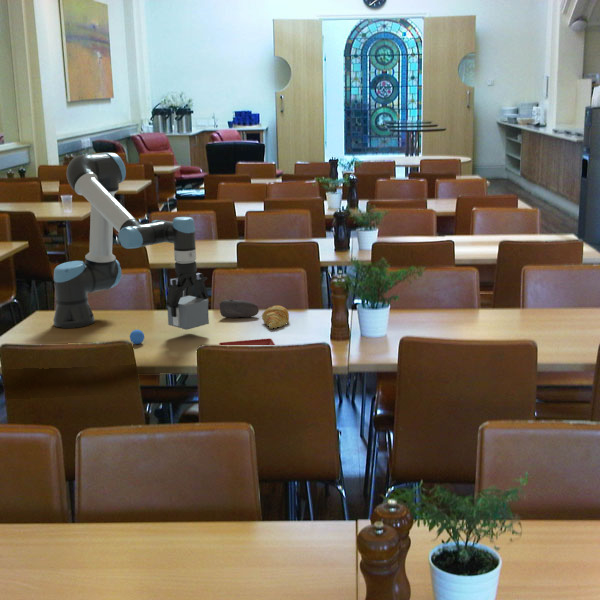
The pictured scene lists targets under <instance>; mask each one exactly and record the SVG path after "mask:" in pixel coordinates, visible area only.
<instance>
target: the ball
mask: <svg viewBox="0 0 600 600" xmlns="http://www.w3.org/2000/svg"><path fill="white" fill-rule="evenodd" d="M129 339H130V342H131V343H132V344H135V345H140V344H141V343H143V342H144V340H145V334H144V332H143V331H142V330H140V329H134V330H132V331H131V332H130V334H129Z"/></svg>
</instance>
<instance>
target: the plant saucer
mask: <svg viewBox="0 0 600 600" xmlns="http://www.w3.org/2000/svg"><path fill="white" fill-rule="evenodd" d="M218 345H219V346H220V345H276V343H275V342H274V341H273V339H272V338H260V339H258V338H257V339H248V340H247V339H245V340H235V341H223V342H219V343H218Z"/></svg>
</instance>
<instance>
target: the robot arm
mask: <svg viewBox="0 0 600 600" xmlns="http://www.w3.org/2000/svg"><path fill="white" fill-rule="evenodd" d="M126 169H127V168H126V165H125V162H124V161H123V160H122V158H121V156H120V155H118V154H117V153H115V152H98V153H90V154H79V155H77V156H75V157H74V158H72V159H71V160H70V161H69V163H68V165H67V168H66V179H67V182H68V184H69V187H70V188H71V189H72V190H73V191H74V192H75V193H76V194H77V195H79V196H83V197H84V198H85V199H86V200H87V201H88V202H89V204H90V218H89V219H90V221H89V226H90V227H89V228H90V229H89V248H88V250H89V252H87V253H86V254H85V257H84V261H83V260H72V261H67V262H63V263H61V264H58V265H57V266H56V267H55V268H54V270H53V281H54V291H55V292H54V293H55V300H56V301H55V302H56V306H55V312H54V315H53V326H54V327H55V326H56V328H59V327H62V328H61V329H74V328H75V327H77V328H83V327H87V326H91V325H92V324H94V323H95V315H94V313H93V311H92V308H91V306H90V304H89V299H88V294H91V293H96V292H100V291H107V290H109V289H112V288H115V287H116V286H117V285H118V284H119V283H120V281H121V278H122V268H121V266H120V265H121V263H120V262H119V260H117V259H116V258H117V257H116V255H114V254H113V240H114V239H113V237H114V236H113V231H114V230H116V232H118V241H119V242H120V246H121V247H123V248H124V249H126V250H127V249H138V248H142V247H147V246H152V245H158V244H163V243H168V244H169V243H170V244H173V246H174V247H173V249H174V250H173V253H174V254H173V255H174V261H175V262H174V271H175V274H176V275H175V278H169V279H168V284H169V287H168V292H167V297H166V301H165V306H166V307H170V308H171V316H172V317H173V325H176V326H180V320H179V308H177V305H178V303H179V300H180V298H181V297H182V296H183V291H184V290H185V288H187V287H191V289H192V290H193V292H194V294H195V296H196V297H197V298H201V299H208V300H209V295H208V292H207V288H206V284H205V281H204V280H203V278H204V273H202V272H201V273H200V272H197V271H198V269H197V261H196V260H197V252H196V251H197V250H196V248H197V247H196V246H197V245H196V225H195V220H194V218H193V217H191V216H178V217H174V218H173V219H172V221H169V220H164V219H155V220H152V221H151V222H150V223H143V224H141V223H140V222H139V221H138V220H137V219H136V218H135V217H134V216H133V215H132V214H131V213H130V212H129V211H128V210H127V209H126V208H125V207H124V206H123V205H122V204H121V202H119V201H118V200H117V199H116V197H115V194H116V193H117V192H118V191H119V188H120V187H119V185H120V184H121V183H123V182H124V180H125V179H126V175H127V170H126ZM195 280H197V283H198V285H197V284H196V282H195ZM197 286H198V287H199V288H198V287H197ZM75 329H76V328H75Z"/></svg>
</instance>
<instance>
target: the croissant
mask: <svg viewBox="0 0 600 600" xmlns="http://www.w3.org/2000/svg"><path fill="white" fill-rule="evenodd" d="M289 314H290V313H289V311H288V309H287V308H286V307H284V306H282V305H279V304H277V305H276V304H275V305H272V306H269V307H267V308H266V309H265V310H264V311H263V313H262V314H261V317H262V318H261V319H262V321H263V323H264V324H265V325H266V324H267V325H266V326H267V327H268V326H269V327H268V328H269V329H271V330H273V328H274V329H278V328H277V327H279V328H282V327H283V325H284V326H286V325H287V324H286V323H288V324H289V322H290V321H289V319H290V315H289ZM285 324H286V325H285Z"/></svg>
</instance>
